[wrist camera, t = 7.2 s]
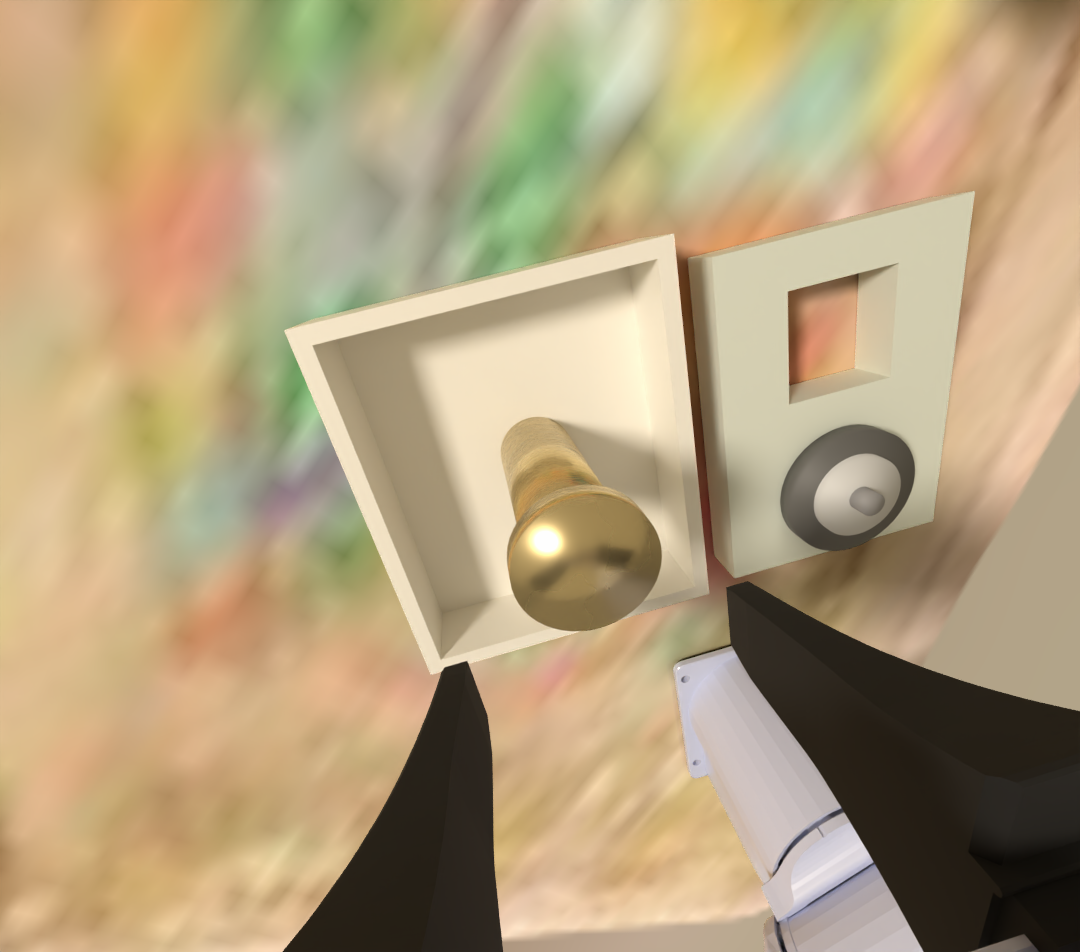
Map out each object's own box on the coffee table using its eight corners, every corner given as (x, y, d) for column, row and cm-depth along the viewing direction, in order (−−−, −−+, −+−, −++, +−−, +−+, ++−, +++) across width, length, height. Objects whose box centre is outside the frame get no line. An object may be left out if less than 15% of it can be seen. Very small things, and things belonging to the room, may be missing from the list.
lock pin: (590, 481, 22) (669, 607, 14) (501, 505, 22) (528, 647, 14) (574, 394, 20) (652, 479, 12) (477, 418, 20) (492, 522, 12)
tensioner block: (899, 502, 26) (975, 543, 22) (714, 555, 25) (759, 606, 21) (927, 197, 20) (1036, 182, 16) (687, 257, 19) (743, 256, 16)
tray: (676, 551, 25) (709, 593, 21) (434, 620, 24) (430, 674, 21) (636, 238, 19) (674, 233, 15) (314, 318, 18) (284, 330, 15)
